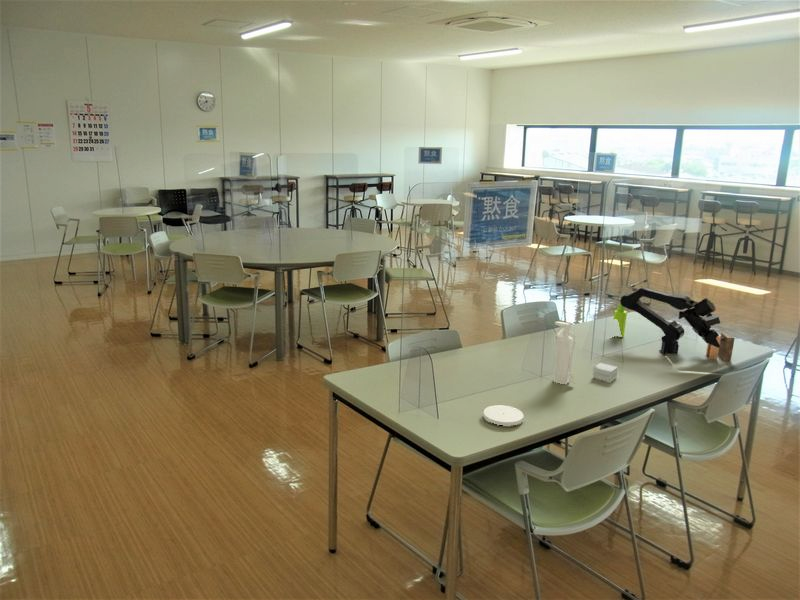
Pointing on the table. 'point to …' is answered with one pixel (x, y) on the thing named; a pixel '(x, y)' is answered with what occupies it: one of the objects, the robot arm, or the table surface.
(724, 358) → the walnut stand
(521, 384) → the table surface
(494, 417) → the plastic lid
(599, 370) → the small box
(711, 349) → the C-link
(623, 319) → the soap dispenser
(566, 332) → the spray bottle
